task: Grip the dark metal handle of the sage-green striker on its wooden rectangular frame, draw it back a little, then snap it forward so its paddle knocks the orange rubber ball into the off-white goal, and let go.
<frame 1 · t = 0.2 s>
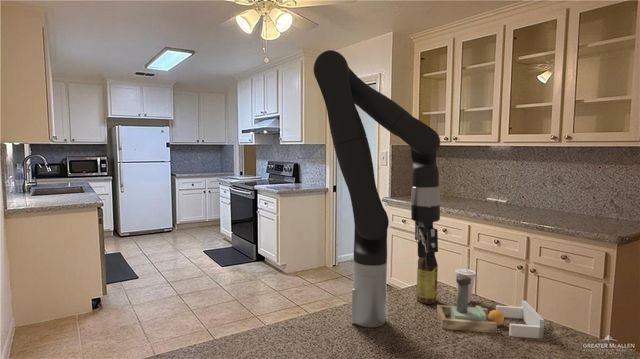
hand: (425, 261, 107), 18 cm above the countertop, tool pointing down, fingers open, 8 cm apart
smoothie: (463, 301, 126), on the countertop
wooden rectangular frame: (466, 322, 111), on the countertop
striker: (468, 300, 110), point 6 cm above the countertop, slide at 0.0 cm
goal: (517, 326, 109), on the countertop
ball: (496, 317, 109), point 2 cm above the countertop
sauce bottle: (426, 301, 126), on the countertop
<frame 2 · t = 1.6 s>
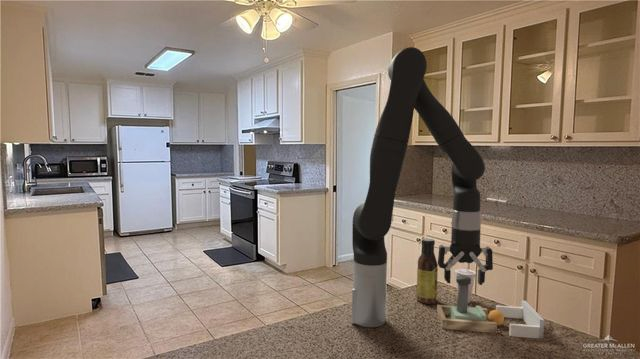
hand: (464, 283, 110), 11 cm above the countertop, tool pointing down, fingers open, 8 cm apart
nothing on the countertop moved.
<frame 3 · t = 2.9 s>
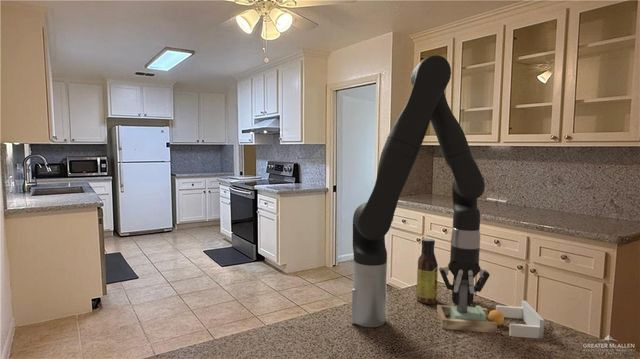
hand: (462, 304, 110), 5 cm above the countertop, tool pointing down, fingers closed on striker, 3 cm apart
striker: (468, 300, 110), point 6 cm above the countertop, slide at 0.0 cm, touching gripper
everything else where it was.
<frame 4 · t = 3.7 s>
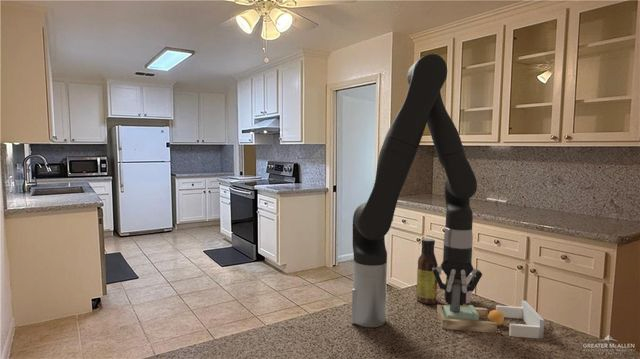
hand: (455, 303, 111), 5 cm above the countertop, tool pointing down, fingers closed on striker, 3 cm apart
striker: (461, 299, 110), point 6 cm above the countertop, slide at -2.0 cm, touching gripper
everything else where it was.
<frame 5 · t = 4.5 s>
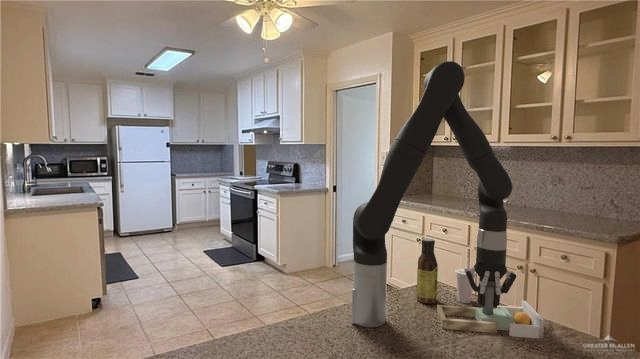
hand: (488, 305, 109), 5 cm above the countertop, tool pointing down, fingers closed on striker, 3 cm apart
striker: (494, 302, 109), point 6 cm above the countertop, slide at 6.9 cm, touching gripper
ball: (522, 319, 108), point 2 cm above the countertop, tilted 167°
everything else where it was.
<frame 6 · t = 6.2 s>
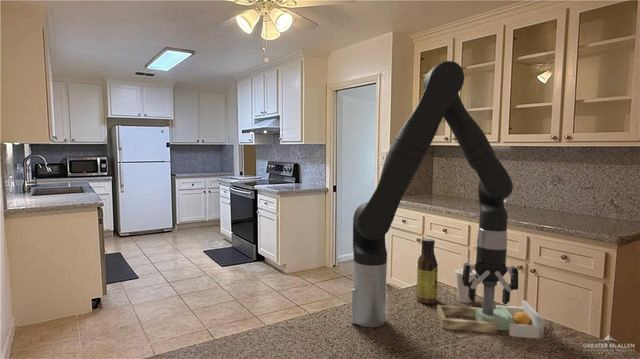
hand: (488, 302, 109), 6 cm above the countertop, tool pointing down, fingers open, 8 cm apart
striker: (494, 302, 109), point 6 cm above the countertop, slide at 6.9 cm
everything else where it was.
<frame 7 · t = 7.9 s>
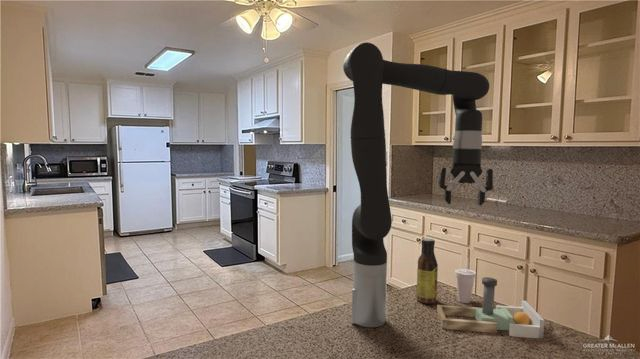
hand: (464, 204, 112), 33 cm above the countertop, tool pointing down, fingers open, 8 cm apart
nothing on the countertop moved.
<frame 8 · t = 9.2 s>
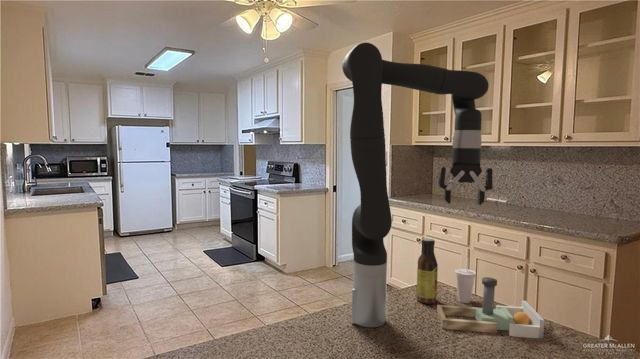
hand: (464, 203, 112), 33 cm above the countertop, tool pointing down, fingers open, 8 cm apart
nothing on the countertop moved.
at the end: ball inside the target area (0.9 cm from its centre), point 2.0 cm above the countertop; striker slide at 6.9 cm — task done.
